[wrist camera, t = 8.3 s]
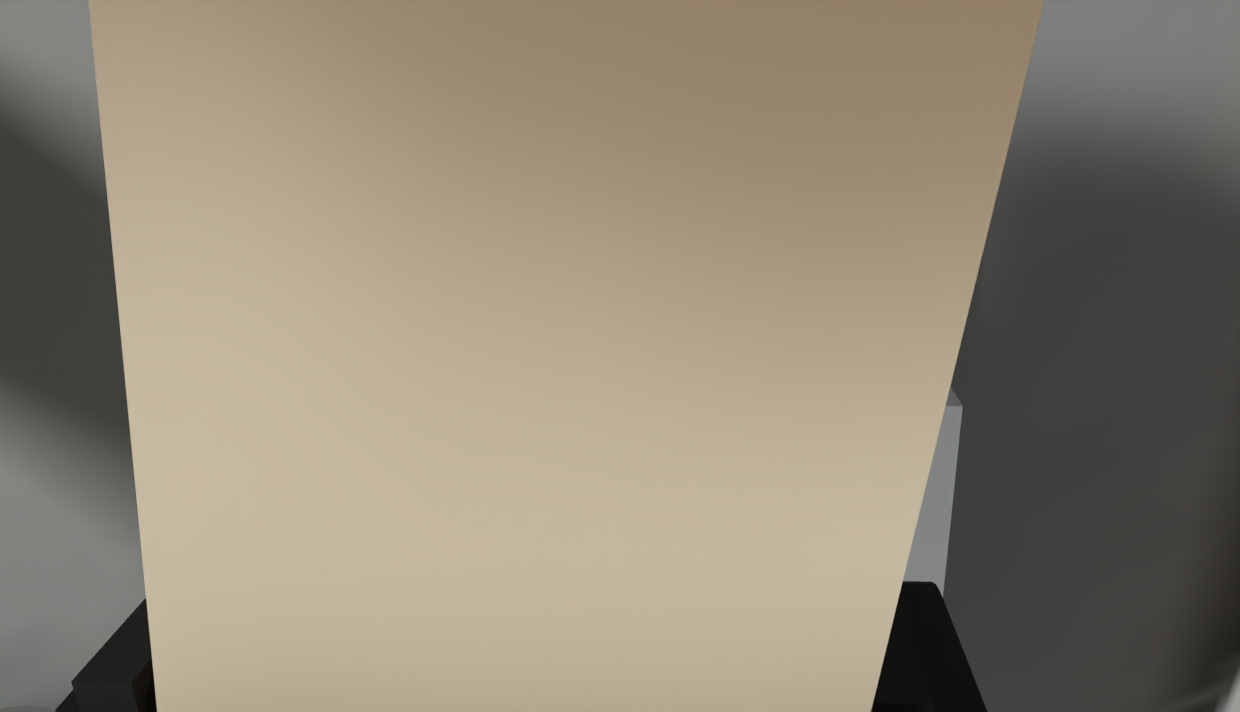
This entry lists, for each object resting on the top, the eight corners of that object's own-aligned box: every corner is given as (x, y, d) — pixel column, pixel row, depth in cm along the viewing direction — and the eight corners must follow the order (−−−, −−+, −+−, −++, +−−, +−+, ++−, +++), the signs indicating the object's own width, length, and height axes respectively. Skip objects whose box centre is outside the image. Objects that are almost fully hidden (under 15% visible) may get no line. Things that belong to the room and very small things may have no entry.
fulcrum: (313, 167, 19) (116, 265, 13) (933, 156, 18) (1063, 255, 12) (358, 481, 22) (213, 696, 15) (906, 486, 21) (1000, 718, 14)
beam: (375, -316, 9) (28, -631, 4) (923, -264, 9) (1172, -532, 4) (368, 1012, 16) (229, 1452, 11) (680, 1057, 15) (672, 1524, 11)
